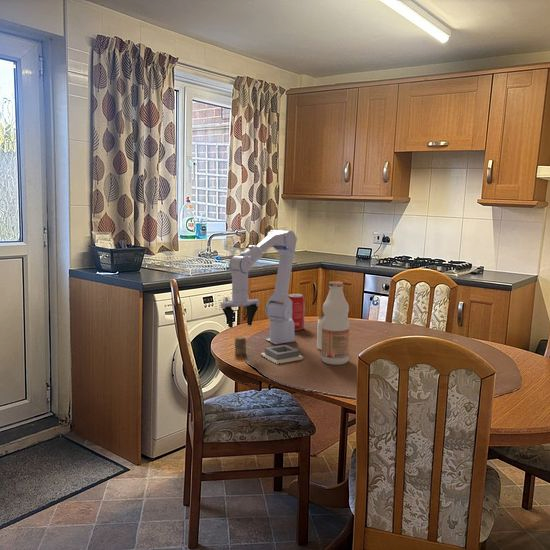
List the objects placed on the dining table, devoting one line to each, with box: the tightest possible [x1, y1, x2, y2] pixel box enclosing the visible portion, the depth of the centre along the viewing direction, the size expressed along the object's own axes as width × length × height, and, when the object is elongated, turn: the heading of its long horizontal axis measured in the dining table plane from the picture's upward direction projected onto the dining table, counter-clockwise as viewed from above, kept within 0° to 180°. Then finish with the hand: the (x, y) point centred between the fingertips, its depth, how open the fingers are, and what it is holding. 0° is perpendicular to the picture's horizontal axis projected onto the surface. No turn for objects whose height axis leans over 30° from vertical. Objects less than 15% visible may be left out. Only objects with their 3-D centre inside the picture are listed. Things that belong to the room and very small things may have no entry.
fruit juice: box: [321, 281, 350, 366], centre depth 187 cm, size 9×9×28 cm
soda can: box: [287, 293, 306, 332], centre depth 232 cm, size 8×8×15 cm
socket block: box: [260, 344, 304, 365], centre depth 193 cm, size 11×11×3 cm
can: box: [316, 315, 324, 351], centre depth 203 cm, size 6×6×12 cm
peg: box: [234, 336, 247, 357], centre depth 196 cm, size 4×4×6 cm
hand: (240, 326), depth 195 cm, fingers open, 7 cm apart
